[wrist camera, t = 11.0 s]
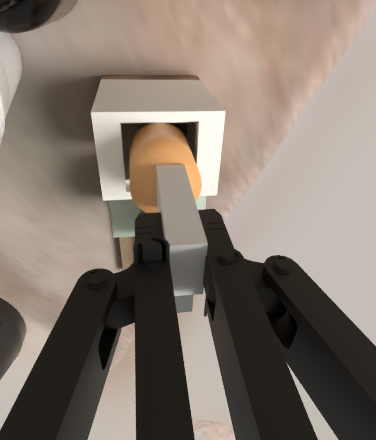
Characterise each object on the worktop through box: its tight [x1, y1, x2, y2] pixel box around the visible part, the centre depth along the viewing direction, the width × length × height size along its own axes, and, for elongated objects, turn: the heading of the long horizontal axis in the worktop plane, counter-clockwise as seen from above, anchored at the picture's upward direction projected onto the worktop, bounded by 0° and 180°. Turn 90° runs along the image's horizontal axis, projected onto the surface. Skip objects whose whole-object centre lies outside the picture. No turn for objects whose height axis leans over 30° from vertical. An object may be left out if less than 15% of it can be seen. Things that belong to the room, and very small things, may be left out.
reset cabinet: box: [91, 79, 225, 201], centre depth 24 cm, size 8×6×8 cm
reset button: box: [130, 123, 202, 213], centre depth 20 cm, size 4×4×5 cm
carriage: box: [109, 196, 206, 313], centre depth 25 cm, size 8×5×13 cm, turn 88°
